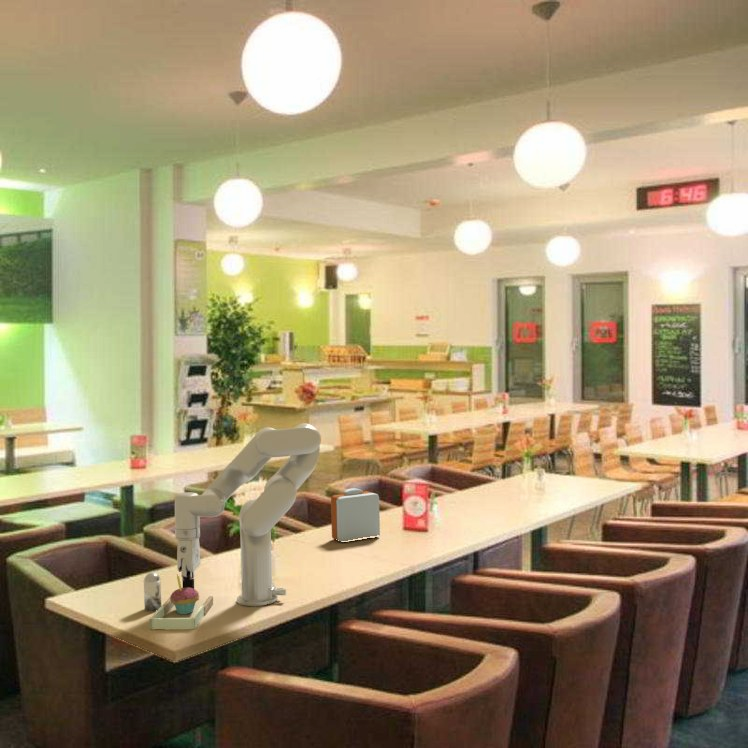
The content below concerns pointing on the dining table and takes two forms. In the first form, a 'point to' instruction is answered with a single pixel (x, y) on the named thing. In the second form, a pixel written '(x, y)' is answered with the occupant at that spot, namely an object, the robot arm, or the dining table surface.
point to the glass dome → (152, 592)
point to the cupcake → (184, 599)
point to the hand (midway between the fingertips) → (188, 591)
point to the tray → (175, 620)
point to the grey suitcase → (355, 515)
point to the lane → (207, 604)
